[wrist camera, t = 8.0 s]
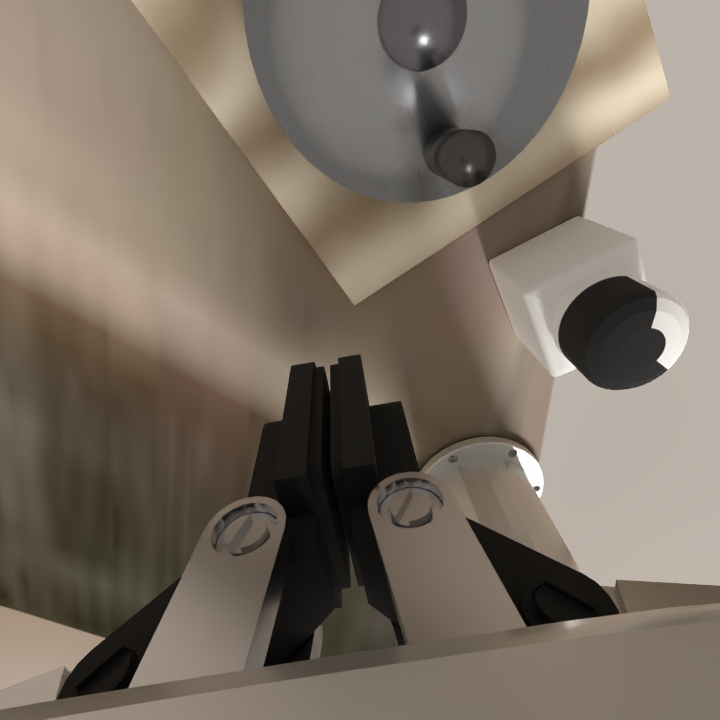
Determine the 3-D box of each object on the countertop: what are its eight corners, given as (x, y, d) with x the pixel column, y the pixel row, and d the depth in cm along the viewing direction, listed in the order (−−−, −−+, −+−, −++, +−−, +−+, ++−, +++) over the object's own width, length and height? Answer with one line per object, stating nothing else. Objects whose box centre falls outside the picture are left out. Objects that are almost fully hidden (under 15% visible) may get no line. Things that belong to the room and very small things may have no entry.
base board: (659, 98, 29) (767, 92, 22) (353, 300, 34) (361, 348, 27) (506, -456, 19) (616, -800, 12) (100, -47, 24) (7, -117, 17)
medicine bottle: (515, 335, 37) (592, 423, 26) (486, 260, 33) (560, 325, 23) (600, 295, 35) (717, 371, 25) (578, 213, 32) (702, 259, 22)
